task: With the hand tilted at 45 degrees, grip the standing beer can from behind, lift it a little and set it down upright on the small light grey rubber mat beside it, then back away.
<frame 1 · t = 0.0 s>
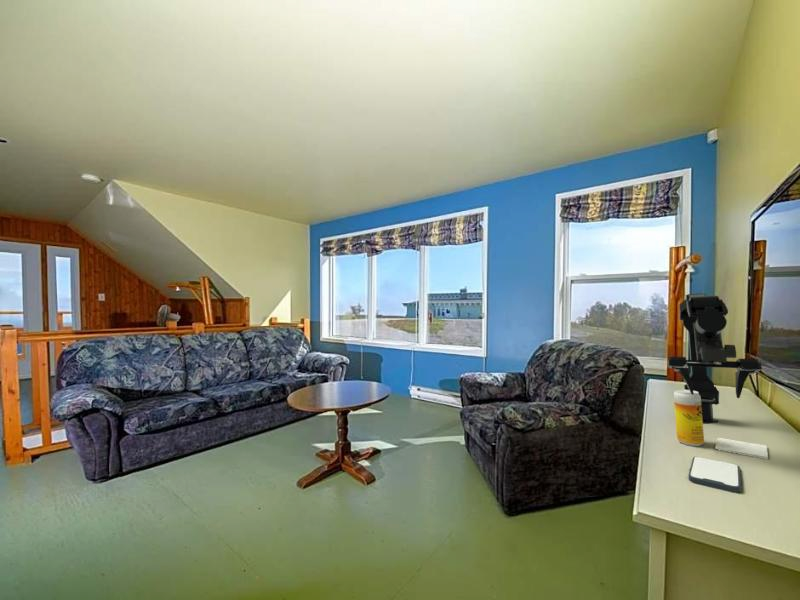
hand: (714, 396, 93), 15 cm above the table, tool pointing down, fingers open, 9 cm apart
mat: (741, 448, 95), on the table
phone case: (715, 477, 81), on the table
beer can: (690, 443, 101), on the table
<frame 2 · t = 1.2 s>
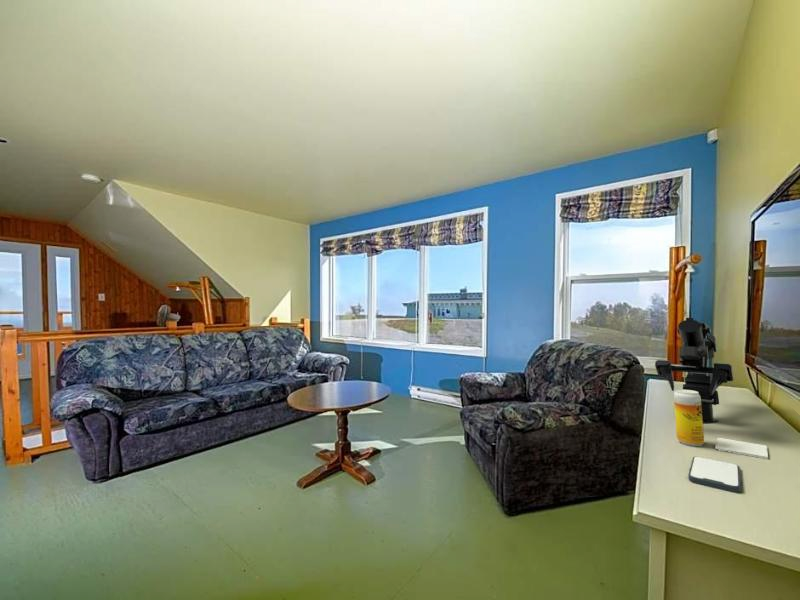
hand: (691, 392, 107), 13 cm above the table, tool tilted 45°, fingers open, 9 cm apart
nothing on the table moved.
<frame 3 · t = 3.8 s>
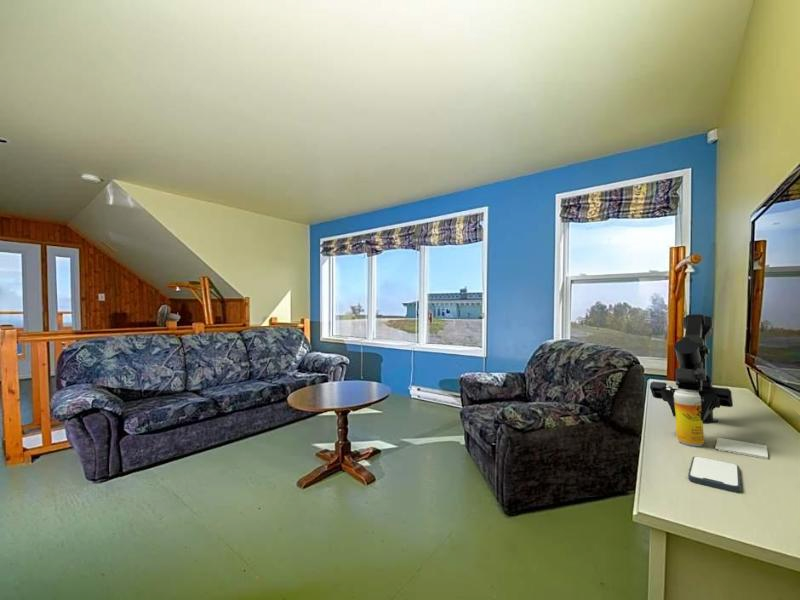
hand: (687, 417, 100), 8 cm above the table, tool tilted 45°, fingers closed on beer can, 6 cm apart
beer can: (690, 443, 101), on the table, touching gripper
everything else where it was.
when the fingers open (9 cm above the table, at t = 6.9 s): beer can stays where it is, resting on mat.
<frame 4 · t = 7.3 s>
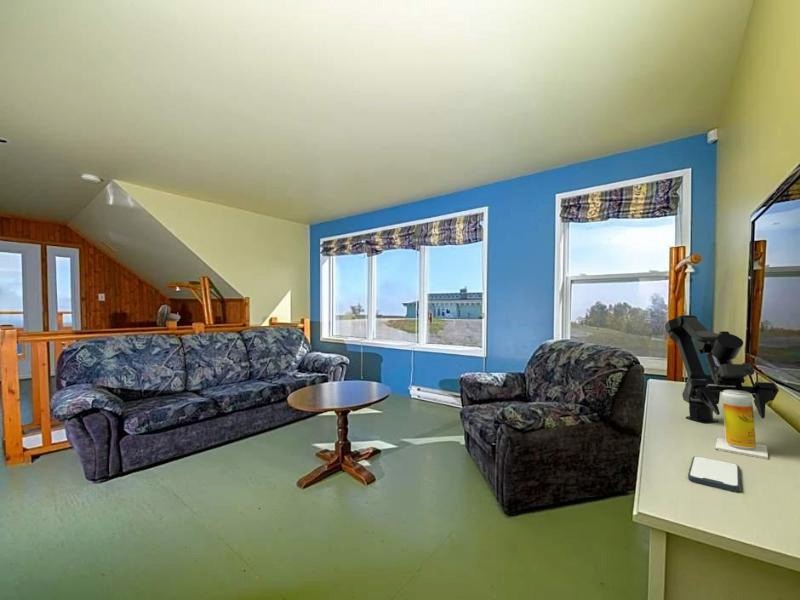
hand: (740, 415, 95), 9 cm above the table, tool tilted 45°, fingers open, 9 cm apart
beer can: (740, 447, 96), resting on mat
everything else where it was.
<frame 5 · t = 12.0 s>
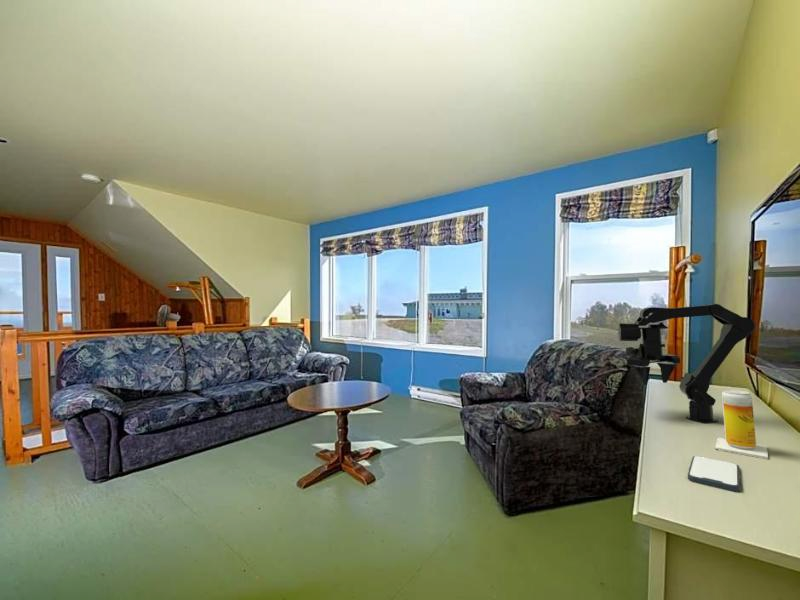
hand: (654, 383, 126), 12 cm above the table, tool pointing down, fingers open, 9 cm apart
nothing on the table moved.
at the end: beer can 0.1 cm off-centre on the mat, point 0.4 cm above the mat's base; beer can tilted 0°; the gripper is holding nothing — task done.
